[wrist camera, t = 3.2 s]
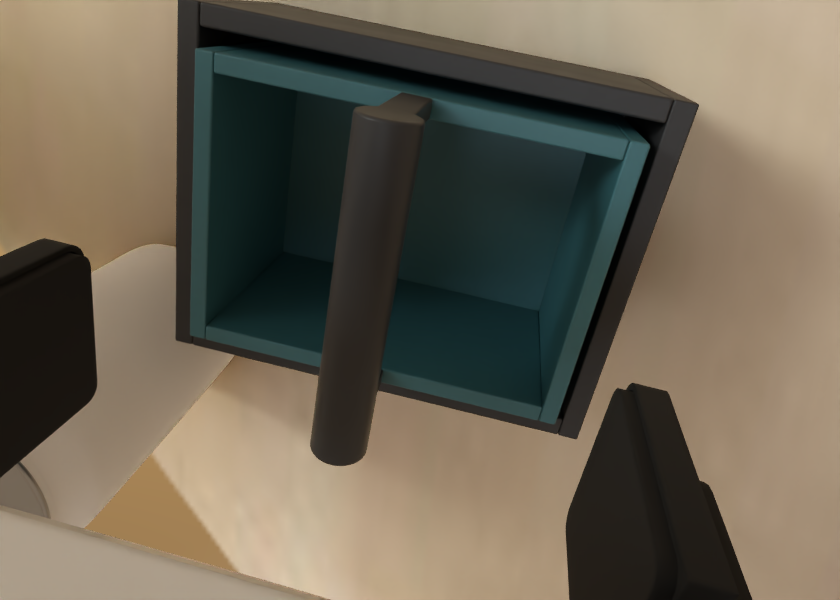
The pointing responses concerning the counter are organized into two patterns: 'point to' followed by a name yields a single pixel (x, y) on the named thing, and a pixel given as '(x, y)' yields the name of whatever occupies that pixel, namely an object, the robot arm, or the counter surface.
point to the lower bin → (555, 80)
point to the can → (118, 393)
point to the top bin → (400, 230)
